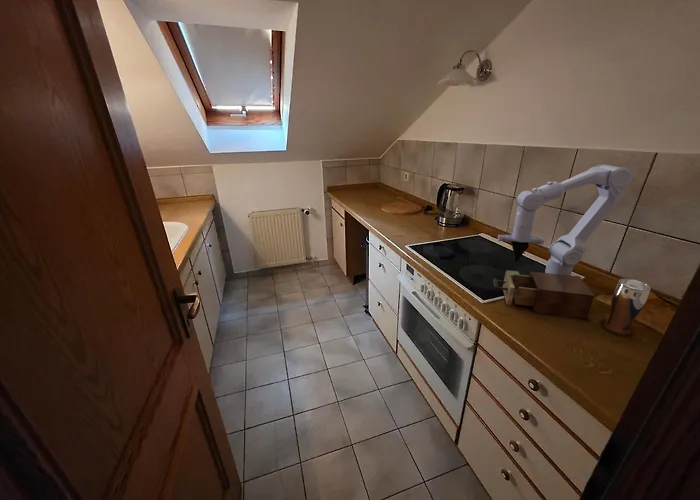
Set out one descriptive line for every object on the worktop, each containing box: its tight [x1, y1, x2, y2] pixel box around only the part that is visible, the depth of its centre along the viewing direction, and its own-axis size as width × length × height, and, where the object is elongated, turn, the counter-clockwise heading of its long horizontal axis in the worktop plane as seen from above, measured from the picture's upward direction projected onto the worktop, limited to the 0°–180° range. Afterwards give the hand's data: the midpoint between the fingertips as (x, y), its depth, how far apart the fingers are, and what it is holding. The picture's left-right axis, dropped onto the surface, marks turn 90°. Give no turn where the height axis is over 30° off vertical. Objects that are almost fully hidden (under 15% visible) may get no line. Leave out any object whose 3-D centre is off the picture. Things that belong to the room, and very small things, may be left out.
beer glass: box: [603, 278, 652, 336], centre depth 85 cm, size 7×7×15 cm
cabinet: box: [529, 271, 595, 320], centre depth 98 cm, size 15×13×9 cm
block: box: [506, 269, 520, 280], centre depth 114 cm, size 4×4×4 cm
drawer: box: [492, 271, 538, 307], centre depth 101 cm, size 18×11×7 cm, turn 72°
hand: (515, 260), depth 111 cm, fingers closed
